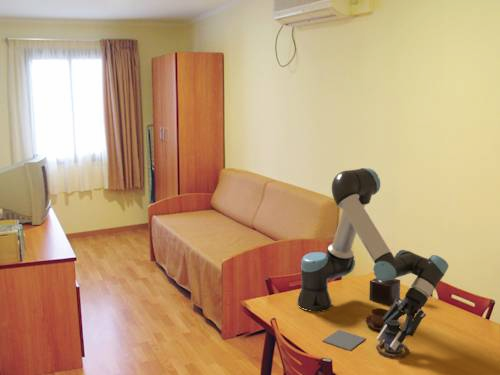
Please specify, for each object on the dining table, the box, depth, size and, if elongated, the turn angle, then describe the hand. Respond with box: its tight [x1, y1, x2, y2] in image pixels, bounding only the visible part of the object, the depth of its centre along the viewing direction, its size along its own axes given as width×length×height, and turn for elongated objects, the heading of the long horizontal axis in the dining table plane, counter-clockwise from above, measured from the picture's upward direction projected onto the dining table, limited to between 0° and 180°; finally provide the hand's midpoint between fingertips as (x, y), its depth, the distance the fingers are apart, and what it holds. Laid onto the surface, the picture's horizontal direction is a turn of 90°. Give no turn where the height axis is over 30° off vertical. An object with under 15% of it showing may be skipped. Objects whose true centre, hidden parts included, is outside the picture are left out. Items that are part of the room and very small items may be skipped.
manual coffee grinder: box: [369, 277, 401, 306], centre depth 232 cm, size 16×11×18 cm
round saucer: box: [375, 340, 410, 359], centre depth 184 cm, size 11×11×1 cm
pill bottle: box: [383, 320, 403, 354], centre depth 183 cm, size 6×6×11 cm
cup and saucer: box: [365, 307, 389, 331], centre depth 204 cm, size 12×12×6 cm
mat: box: [322, 329, 367, 352], centre depth 193 cm, size 12×12×1 cm
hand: (385, 344), depth 182 cm, fingers closed on pill bottle, 6 cm apart
